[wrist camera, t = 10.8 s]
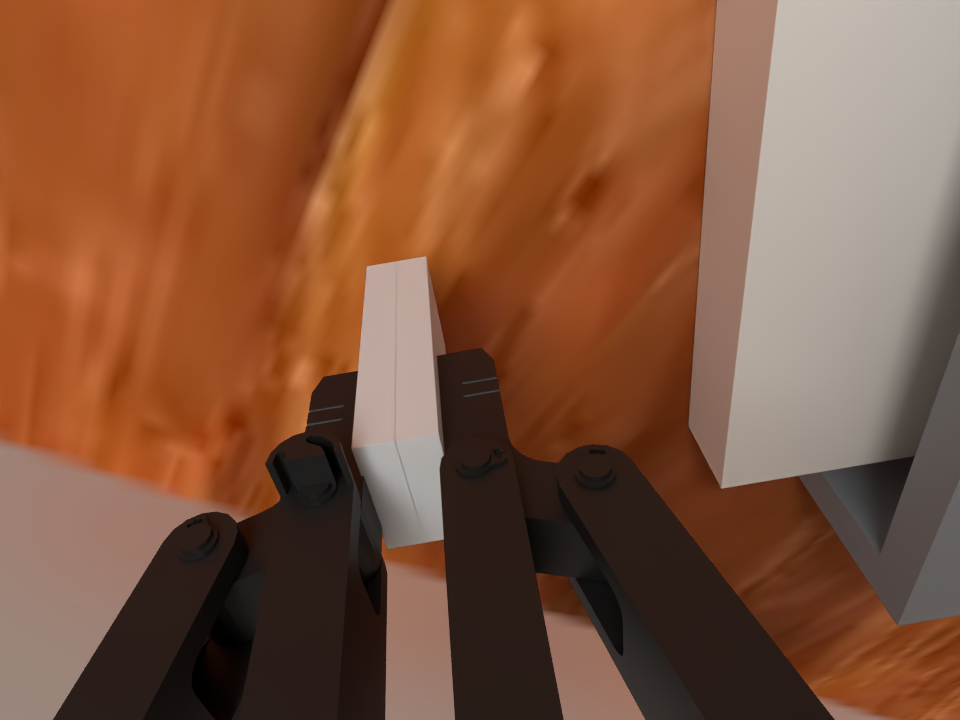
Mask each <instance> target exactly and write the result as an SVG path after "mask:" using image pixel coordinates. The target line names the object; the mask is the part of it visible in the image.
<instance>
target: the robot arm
mask: <svg viewBox="0 0 960 720" xmlns="http://www.w3.org/2000/svg"><path fill="white" fill-rule="evenodd" d="M309 412H310V413H308V419H307V427H306V431H305V432H304V433H301V434H298V435H294V436H292V437H290V438H289V439H287V440H285V441H284V442H282V443H280V444H279V445H278V446H277V447H276V448H275V449H274V450H273V451H272V452H271V453H270V455H269V457H268V459H267V461H266V464H265V465H266V467H267V469H268V471H269V473H270V475H271V477H272V480H273V482H274V484H275V486H276V488H277V490H278V492H279V494H280V496H281V498H280V501H279V502H278V503H277V504H275V505H274V506H273V507H271V508H269V509H267V510H265V511H263V512H261V513H259V514H257V515H254V516H252V517H250V518H247V519H245V520H243V521H240V522H238V523H236V521H235V520H234V519H233V518H232V517H230V516H229V515H228V514H225V513H220V512H210V513H203V514H200V515H197V516H195V517H193V518H190V519H188V520H186V521H185V522H184V523H182V524H181V525H179V526H178V527H177V528H175V529H174V530H173V531H172V532H171V533H170V535H169V536H168V537H167V538H166V539H165V541H164V542H163V543H162V545H161V547H160V548H159V550H158V551H157V553H156V555H155V556H154V558H153V559H152V561H151V563H150V564H149V566H148V568H147V569H146V571H145V572H144V574H143V576H142V577H141V579H140V580H139V582H138V584H137V585H136V587H135V588H134V590H133V592H132V593H131V595H130V597H129V598H128V600H127V601H126V603H125V605H124V606H123V608H122V609H121V611H120V613H119V614H118V616H117V618H116V619H115V621H114V622H113V624H112V626H111V627H110V629H109V630H108V632H107V634H106V635H105V637H104V639H103V640H102V642H101V643H100V645H99V646H98V648H97V650H96V651H95V653H94V654H93V656H92V658H91V660H90V661H89V663H88V664H87V666H86V667H85V669H84V671H83V672H82V674H81V675H80V677H79V679H78V680H77V682H76V683H75V685H74V687H73V688H72V690H71V692H70V693H69V695H68V696H67V698H66V700H65V701H64V703H63V704H62V706H61V708H60V709H59V711H58V712H57V714H56V716H55V717H54V719H53V720H385V693H386V692H385V691H386V685H385V684H386V627H387V626H386V625H387V621H386V620H387V570H386V566H385V562H384V560H383V557H382V554H381V548H382V536H383V539H384V541H385V544H386V547H387V549H392V548H398V547H403V546H409V545H415V544H421V543H427V542H432V541H438V540H444V550H445V566H446V582H447V597H448V614H449V629H450V645H451V660H452V677H453V691H454V692H453V693H454V709H455V720H563V714H562V709H561V704H560V699H559V694H558V688H557V683H556V678H555V673H554V667H553V663H552V657H551V652H550V647H549V642H548V636H547V631H546V626H545V621H544V615H543V610H542V605H541V600H540V595H539V589H538V584H537V579H536V574H535V572H536V573H544V574H551V575H559V576H567V577H568V578H569V581H570V583H571V584H572V586H573V588H574V590H575V592H576V594H577V595H578V597H579V599H580V601H581V603H582V604H583V606H584V608H585V610H586V612H587V614H588V615H589V617H590V619H591V621H592V623H593V625H594V626H595V628H596V630H597V632H598V634H599V636H600V637H601V639H602V641H603V643H604V644H605V646H606V648H607V650H608V652H609V654H610V656H611V657H612V659H613V661H614V663H615V665H616V667H617V668H618V670H619V672H620V674H621V675H622V678H623V679H624V681H625V683H626V685H627V687H628V688H629V690H630V692H631V694H632V696H633V698H634V699H635V701H636V703H637V705H638V707H639V709H640V710H641V712H642V714H643V716H644V718H645V720H834V718H833V717H832V716H831V715H830V713H829V712H828V711H827V709H826V708H825V707H824V706H823V704H822V703H821V702H820V700H819V699H818V698H817V697H816V695H815V694H814V693H813V692H812V690H811V689H810V688H809V686H808V685H807V684H806V683H805V681H804V680H803V679H802V677H801V676H800V675H799V674H798V672H797V671H796V670H795V669H794V667H793V666H792V665H791V663H790V662H789V661H788V660H787V658H786V657H785V656H784V654H783V653H782V652H781V651H780V649H779V648H778V647H777V646H776V644H775V643H774V642H773V640H772V639H771V638H770V637H769V635H768V634H767V633H766V631H765V630H764V629H763V628H762V626H761V625H760V624H759V622H758V621H757V620H756V619H755V617H754V616H753V615H752V614H751V612H750V611H749V610H748V608H747V607H746V606H745V605H744V603H743V602H742V601H741V599H740V598H739V597H738V596H737V594H736V593H735V592H734V591H733V589H732V588H731V587H730V585H729V584H728V583H727V582H726V580H725V579H724V578H723V576H722V575H721V574H720V573H719V571H718V570H717V569H716V568H715V566H714V565H713V564H712V562H711V561H710V560H709V559H708V557H707V556H706V555H705V553H704V552H703V551H702V550H701V548H700V547H699V546H698V545H697V543H696V542H695V541H694V539H693V538H692V537H691V536H690V534H689V533H688V532H687V530H686V529H685V528H684V527H683V525H682V524H681V523H680V522H679V520H678V519H677V518H676V516H675V515H674V514H673V513H672V511H671V510H670V509H669V507H668V506H667V505H666V504H665V502H664V501H663V500H662V499H661V497H660V496H659V495H658V493H657V492H656V491H655V490H654V488H653V487H652V486H651V484H650V483H649V482H648V481H647V479H646V478H645V477H644V475H643V474H642V473H641V472H640V470H639V469H638V468H637V467H636V465H635V464H634V463H633V461H632V460H631V459H630V458H629V457H628V456H626V455H625V454H624V453H623V452H622V451H620V450H618V449H615V448H612V447H610V446H606V445H593V444H592V445H588V446H583V447H578V448H576V449H574V450H573V451H571V452H569V453H567V454H566V455H565V456H564V457H563V459H562V460H561V461H560V462H559V463H553V462H543V461H538V460H533V459H531V458H528V457H526V456H524V455H522V454H521V453H519V452H518V451H517V450H516V449H515V448H514V447H513V446H512V444H511V442H510V440H509V437H508V432H507V427H506V422H505V417H504V412H503V406H502V401H501V396H500V391H499V386H498V381H497V376H496V371H495V365H494V360H493V359H492V358H491V357H490V356H489V355H488V354H487V353H486V352H485V351H484V350H483V349H482V348H479V349H473V350H467V351H461V352H456V353H450V354H446V350H445V343H444V338H443V333H442V328H441V324H440V319H439V314H438V310H437V305H436V300H435V295H434V291H433V286H432V281H431V277H430V272H429V267H428V263H427V258H426V256H425V257H419V258H413V259H407V260H402V261H396V262H390V263H384V264H379V265H373V266H367V272H366V284H365V296H364V307H363V319H362V331H361V343H360V354H359V366H358V371H355V372H349V373H343V374H338V375H332V376H326V377H323V379H322V380H321V381H320V383H319V384H318V386H317V387H316V388H315V390H314V391H313V392H312V396H311V402H310V407H309Z"/></svg>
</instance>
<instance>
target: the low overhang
mask: <svg viewBox="0 0 960 720" xmlns="http://www.w3.org/2000/svg"><path fill="white" fill-rule="evenodd" d="M798 477H799V478H800V480H801V481H802V483H803V484H804V486H805V487H806V489H807V490H808V492H809V493H810V495H811V496H812V498H813V499H814V501H815V502H816V504H817V505H818V507H819V508H820V510H821V511H822V513H823V514H824V516H825V517H826V519H827V520H828V522H829V523H830V525H831V526H832V528H833V529H834V531H835V533H836V534H837V536H838V537H839V539H840V540H841V542H842V543H843V545H844V546H845V548H846V549H847V551H848V552H849V554H850V555H851V557H852V558H853V560H854V561H855V563H856V564H857V566H858V567H859V569H860V570H861V572H862V573H863V575H864V576H865V578H866V579H867V581H868V582H869V584H870V585H871V587H872V588H873V590H874V591H875V593H876V594H877V596H878V597H879V599H880V600H881V602H882V603H883V605H884V606H885V608H886V609H887V611H888V612H889V614H890V615H891V617H892V618H893V620H894V621H895V623H896V624H897V626H900V625H906V624H911V623H917V622H923V621H929V620H935V619H941V618H947V617H953V616H959V615H960V331H959V334H958V336H957V339H956V342H955V345H954V348H953V351H952V353H951V356H950V359H949V362H948V365H947V367H946V370H945V373H944V376H943V379H942V382H941V384H940V387H939V390H938V393H937V396H936V398H935V401H934V404H933V407H932V410H931V413H930V415H929V418H928V421H927V424H926V427H925V429H924V432H923V435H922V438H921V441H920V443H919V446H918V449H917V452H916V455H915V456H912V457H906V458H900V459H894V460H888V461H882V462H876V463H871V464H865V465H859V466H853V467H847V468H841V469H835V470H829V471H823V472H817V473H811V474H805V475H799V476H798Z"/></svg>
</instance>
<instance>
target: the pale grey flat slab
mask: <svg viewBox="0 0 960 720" xmlns="http://www.w3.org/2000/svg"><path fill="white" fill-rule="evenodd" d="M959 331H960V0H717V7H716V22H715V37H714V52H713V67H712V82H711V97H710V111H709V126H708V141H707V156H706V171H705V186H704V201H703V216H702V231H701V246H700V260H699V275H698V290H697V305H696V320H695V335H694V350H693V365H692V380H691V394H690V409H689V424H688V426H689V428H690V430H691V432H692V434H693V436H694V438H695V440H696V441H697V443H698V445H699V447H700V449H701V451H702V453H703V455H704V457H705V459H706V461H707V462H708V464H709V466H710V468H711V470H712V472H713V474H714V476H715V478H716V480H717V481H718V483H719V485H720V487H721V489H722V488H728V487H734V486H740V485H746V484H752V483H758V482H764V481H770V480H776V479H782V478H788V477H793V476H799V475H805V474H811V473H817V472H823V471H829V470H835V469H841V468H847V467H853V466H859V465H865V464H871V463H876V462H882V461H888V460H894V459H900V458H906V457H912V456H915V455H916V452H917V449H918V446H919V443H920V441H921V438H922V435H923V432H924V429H925V427H926V424H927V421H928V418H929V415H930V413H931V410H932V407H933V404H934V401H935V398H936V396H937V393H938V390H939V387H940V384H941V382H942V379H943V376H944V373H945V370H946V367H947V365H948V362H949V359H950V356H951V353H952V351H953V348H954V345H955V342H956V339H957V336H958V334H959Z"/></svg>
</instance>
